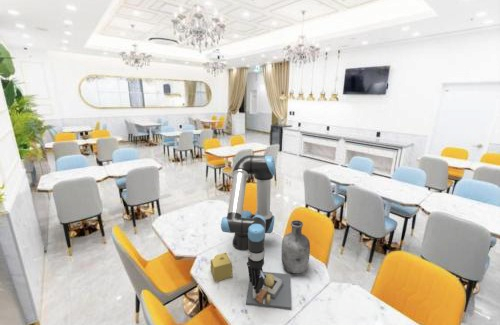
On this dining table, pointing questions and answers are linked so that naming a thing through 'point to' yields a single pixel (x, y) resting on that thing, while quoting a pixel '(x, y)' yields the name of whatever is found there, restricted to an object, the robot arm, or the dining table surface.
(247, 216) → the robot arm
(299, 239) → the vase
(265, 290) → the handled square frame
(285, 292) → the jig
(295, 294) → the dining table surface
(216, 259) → the cheese
